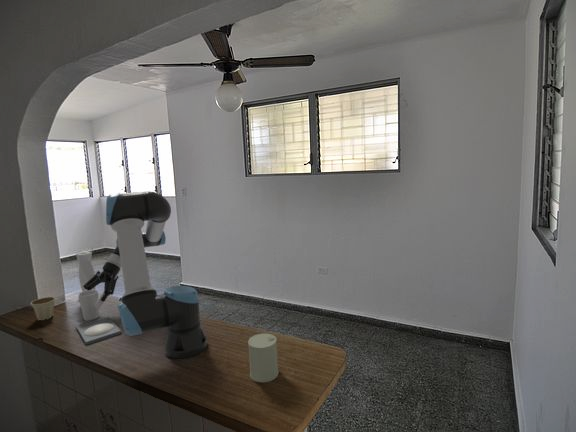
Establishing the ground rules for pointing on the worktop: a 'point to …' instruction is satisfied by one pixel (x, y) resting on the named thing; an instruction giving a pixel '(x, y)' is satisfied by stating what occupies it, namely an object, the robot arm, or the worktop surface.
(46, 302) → the flower pot
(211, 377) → the worktop surface
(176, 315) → the robot arm
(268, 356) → the can
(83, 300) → the cup
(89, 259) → the skyscraper
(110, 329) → the board
